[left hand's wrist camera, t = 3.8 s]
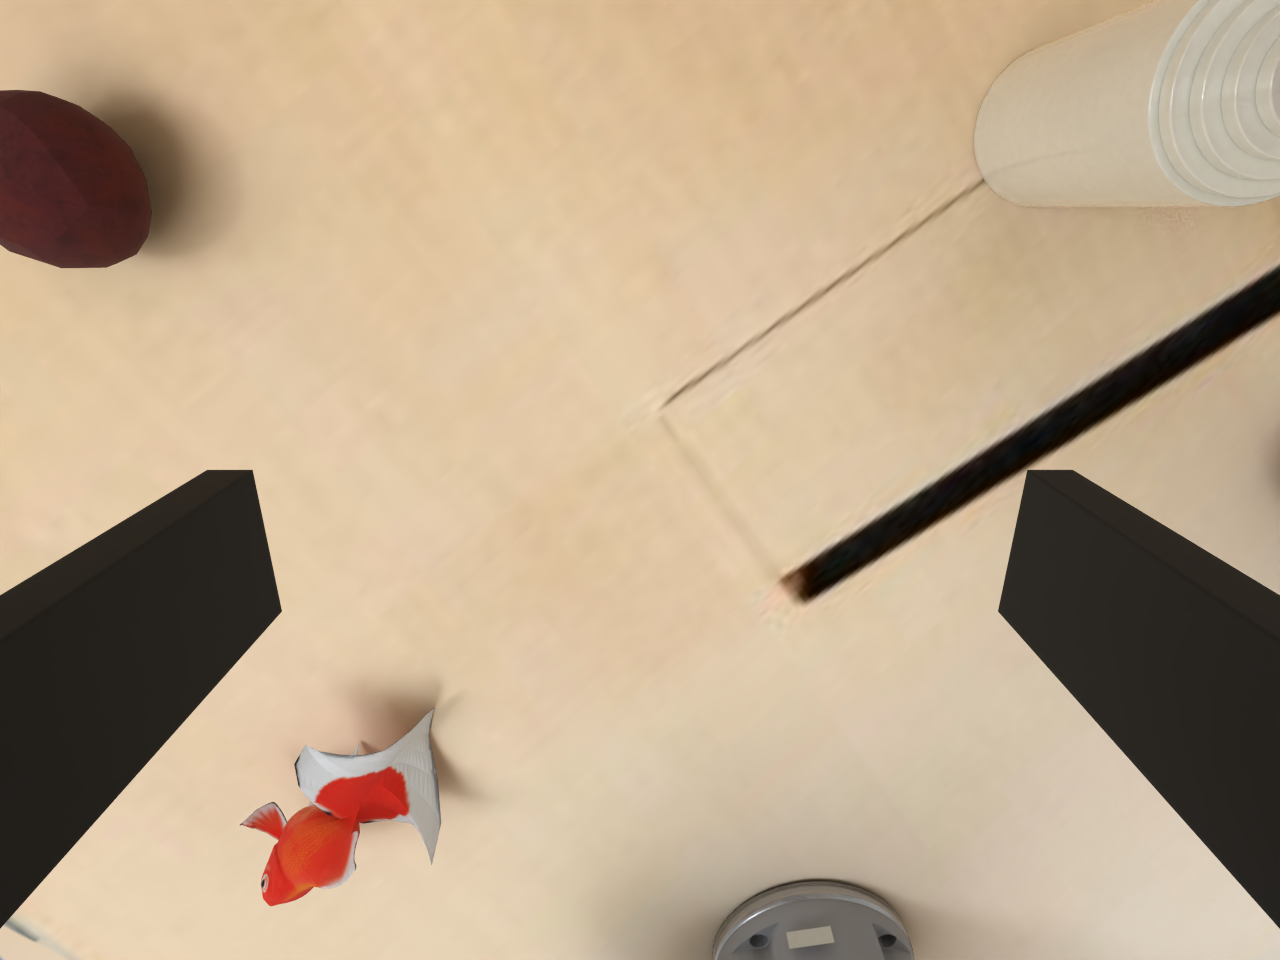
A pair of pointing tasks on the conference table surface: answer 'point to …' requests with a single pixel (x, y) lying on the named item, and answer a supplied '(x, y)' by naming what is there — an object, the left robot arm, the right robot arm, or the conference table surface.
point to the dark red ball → (67, 185)
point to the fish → (347, 812)
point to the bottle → (1141, 111)
